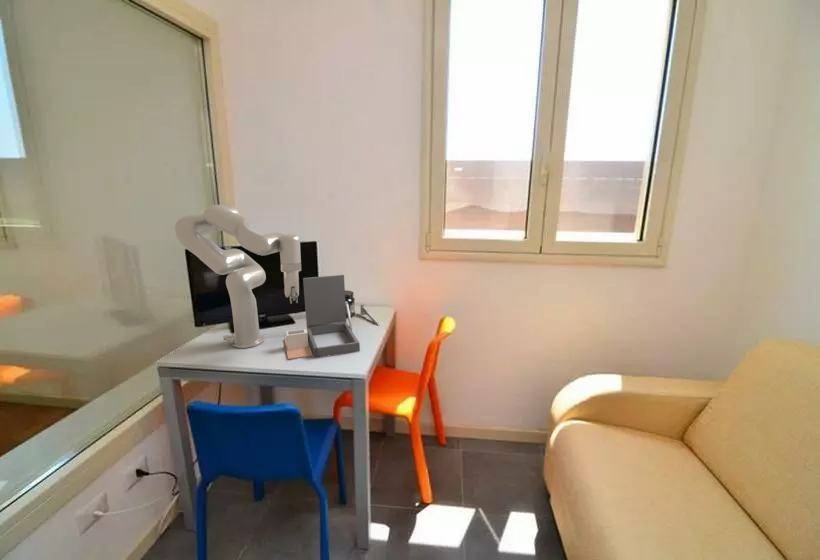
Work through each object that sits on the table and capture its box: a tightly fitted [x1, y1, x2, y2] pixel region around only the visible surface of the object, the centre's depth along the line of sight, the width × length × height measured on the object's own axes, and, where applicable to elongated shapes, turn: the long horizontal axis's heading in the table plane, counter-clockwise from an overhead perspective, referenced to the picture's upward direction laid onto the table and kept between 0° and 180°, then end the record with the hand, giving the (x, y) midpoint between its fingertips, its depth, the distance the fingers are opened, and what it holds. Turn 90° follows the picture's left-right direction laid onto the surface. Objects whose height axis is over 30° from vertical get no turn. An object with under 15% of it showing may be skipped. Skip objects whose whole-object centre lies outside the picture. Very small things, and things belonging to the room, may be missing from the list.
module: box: [285, 328, 309, 350], centre depth 162 cm, size 8×5×6 cm, turn 111°
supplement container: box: [345, 289, 356, 319], centre depth 200 cm, size 10×10×12 cm
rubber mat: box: [283, 337, 313, 361], centre depth 162 cm, size 9×22×1 cm, turn 20°
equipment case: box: [302, 274, 361, 359], centre depth 165 cm, size 19×26×26 cm
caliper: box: [360, 303, 381, 326], centre depth 195 cm, size 20×1×6 cm, turn 31°
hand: (293, 308), depth 159 cm, fingers open, 9 cm apart
